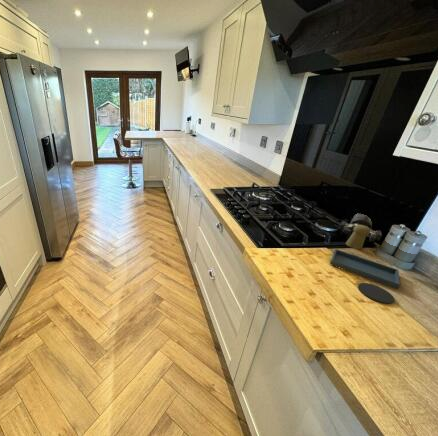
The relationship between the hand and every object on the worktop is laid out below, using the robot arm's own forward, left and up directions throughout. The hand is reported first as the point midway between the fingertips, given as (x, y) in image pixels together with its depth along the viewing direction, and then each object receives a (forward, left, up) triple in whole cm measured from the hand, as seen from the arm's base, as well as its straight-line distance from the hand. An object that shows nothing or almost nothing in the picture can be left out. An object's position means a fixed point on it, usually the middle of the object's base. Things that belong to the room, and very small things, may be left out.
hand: (358, 235), depth 100 cm
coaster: (-8, +31, -6) cm, 33 cm away
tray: (-4, +17, -6) cm, 19 cm away
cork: (0, +1, -6) cm, 6 cm away
